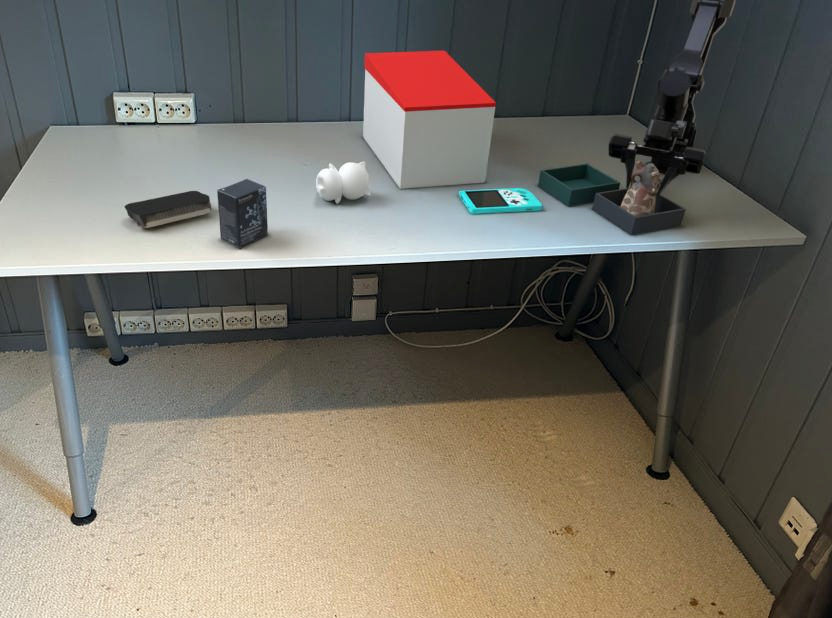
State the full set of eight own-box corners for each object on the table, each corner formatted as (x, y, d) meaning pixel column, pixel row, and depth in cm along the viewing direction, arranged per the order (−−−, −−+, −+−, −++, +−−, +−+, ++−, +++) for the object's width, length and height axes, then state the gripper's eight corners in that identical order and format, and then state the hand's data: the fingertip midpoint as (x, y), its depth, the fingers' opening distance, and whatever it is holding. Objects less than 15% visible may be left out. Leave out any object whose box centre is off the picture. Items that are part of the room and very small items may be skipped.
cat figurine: (315, 161, 153) (370, 154, 155) (305, 171, 163) (357, 164, 166) (323, 203, 153) (377, 195, 156) (313, 211, 164) (363, 203, 167)
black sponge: (139, 234, 145) (137, 217, 142) (125, 218, 150) (122, 201, 148) (215, 216, 152) (214, 200, 150) (199, 201, 158) (197, 185, 156)
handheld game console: (542, 210, 158) (543, 205, 157) (471, 214, 156) (472, 208, 155) (526, 192, 166) (527, 186, 165) (458, 195, 164) (458, 189, 163)
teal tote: (584, 178, 173) (587, 163, 171) (616, 198, 164) (620, 182, 162) (537, 185, 169) (540, 170, 167) (568, 206, 160) (571, 190, 158)
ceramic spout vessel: (644, 227, 152) (659, 172, 145) (612, 217, 156) (625, 163, 149) (658, 217, 157) (674, 163, 149) (627, 207, 160) (641, 154, 153)
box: (239, 249, 141) (236, 197, 134) (220, 240, 143) (215, 189, 137) (269, 235, 145) (266, 185, 139) (249, 227, 148) (246, 177, 142)
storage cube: (436, 132, 197) (444, 50, 185) (485, 182, 170) (497, 90, 158) (362, 136, 193) (364, 53, 181) (399, 188, 166) (405, 95, 153)
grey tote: (639, 201, 163) (644, 185, 161) (680, 225, 154) (686, 209, 151) (591, 209, 159) (595, 193, 157) (630, 235, 149) (635, 218, 147)
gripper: (621, 94, 149) (596, 163, 148) (719, 110, 142) (693, 183, 140) (621, 122, 159) (597, 187, 158) (712, 138, 152) (688, 206, 151)
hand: (642, 190), depth 151 cm, fingers closed on ceramic spout vessel, 6 cm apart
